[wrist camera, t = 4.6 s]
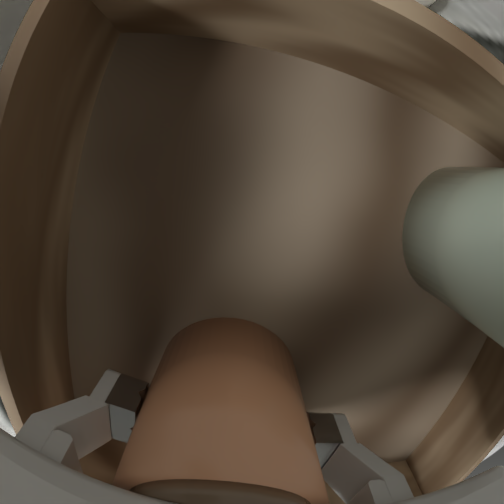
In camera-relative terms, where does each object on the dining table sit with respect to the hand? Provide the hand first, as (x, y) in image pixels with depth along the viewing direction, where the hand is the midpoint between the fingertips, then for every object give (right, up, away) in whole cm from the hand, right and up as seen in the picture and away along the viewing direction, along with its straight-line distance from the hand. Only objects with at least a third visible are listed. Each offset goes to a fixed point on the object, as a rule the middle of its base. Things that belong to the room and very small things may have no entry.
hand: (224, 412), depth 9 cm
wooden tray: (+4, +3, +2) cm, 5 cm away
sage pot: (+9, +6, +1) cm, 11 cm away
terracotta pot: (0, 0, +2) cm, 2 cm away
